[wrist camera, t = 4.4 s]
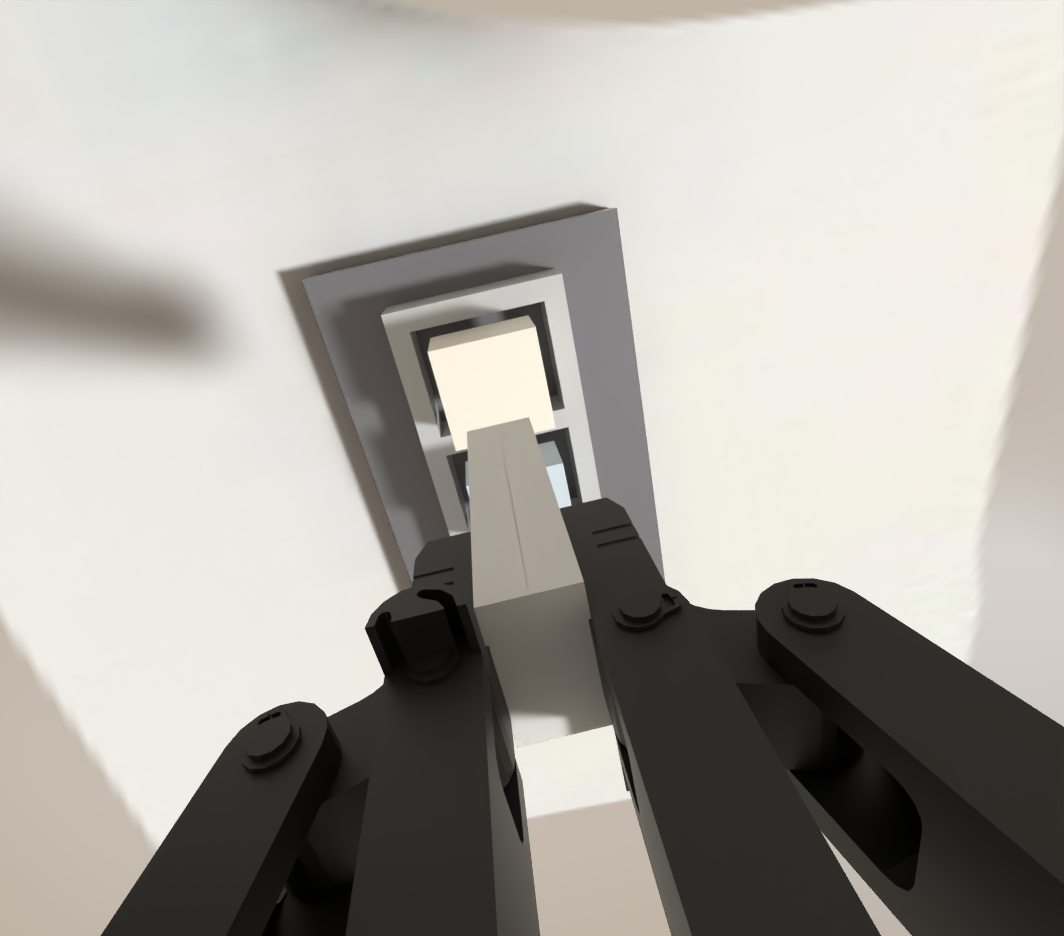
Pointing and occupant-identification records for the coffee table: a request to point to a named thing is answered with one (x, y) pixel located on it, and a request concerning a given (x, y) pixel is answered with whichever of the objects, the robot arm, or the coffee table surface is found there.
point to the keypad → (476, 300)
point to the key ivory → (491, 377)
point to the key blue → (549, 473)
